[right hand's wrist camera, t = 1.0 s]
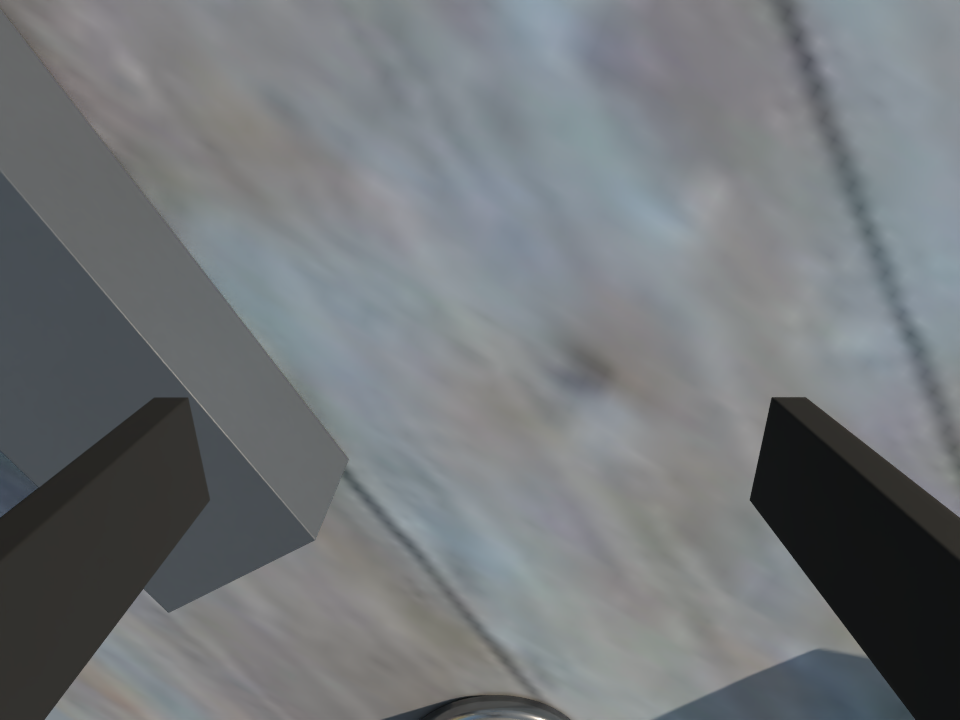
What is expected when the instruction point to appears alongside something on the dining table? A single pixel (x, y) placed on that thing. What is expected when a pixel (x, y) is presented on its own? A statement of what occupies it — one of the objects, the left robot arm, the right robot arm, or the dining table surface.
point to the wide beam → (137, 342)
